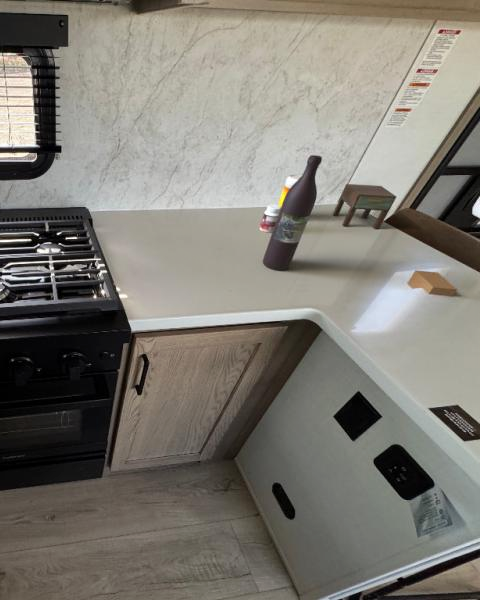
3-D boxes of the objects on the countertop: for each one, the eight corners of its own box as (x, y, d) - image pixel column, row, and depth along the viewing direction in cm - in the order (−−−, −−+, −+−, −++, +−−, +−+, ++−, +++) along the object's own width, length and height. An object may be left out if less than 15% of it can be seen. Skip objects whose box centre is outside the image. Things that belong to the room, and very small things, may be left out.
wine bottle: (259, 266, 100) (297, 157, 82) (265, 256, 104) (301, 151, 87) (286, 273, 96) (331, 162, 79) (290, 263, 101) (334, 155, 83)
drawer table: (379, 230, 118) (397, 197, 112) (344, 227, 120) (359, 194, 114) (365, 216, 127) (381, 185, 121) (332, 214, 130) (346, 183, 123)
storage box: (447, 302, 85) (457, 289, 82) (423, 300, 86) (433, 287, 83) (428, 285, 91) (437, 272, 89) (406, 283, 92) (415, 270, 90)
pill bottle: (260, 225, 122) (267, 202, 117) (275, 228, 120) (283, 205, 115) (258, 230, 119) (265, 207, 114) (273, 233, 117) (281, 210, 112)
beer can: (285, 222, 124) (300, 180, 115) (270, 216, 128) (284, 175, 120) (295, 219, 126) (311, 177, 118) (280, 213, 131) (295, 173, 122)
